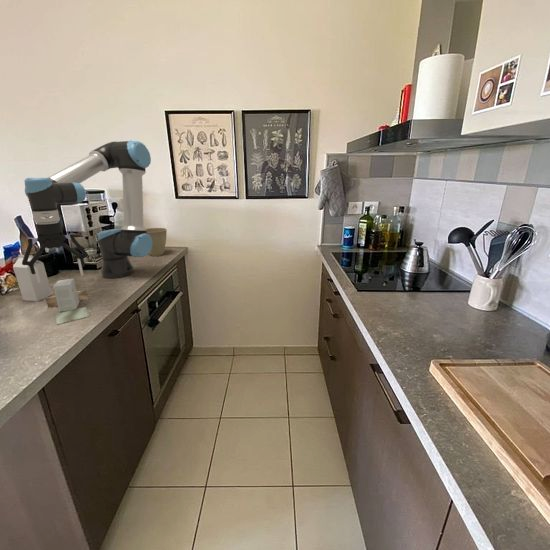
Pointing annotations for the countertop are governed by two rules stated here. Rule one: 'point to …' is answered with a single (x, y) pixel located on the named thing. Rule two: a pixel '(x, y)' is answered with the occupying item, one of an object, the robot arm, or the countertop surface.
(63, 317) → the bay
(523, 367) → the countertop surface
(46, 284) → the milk carton
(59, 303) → the small box
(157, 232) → the plant pot
